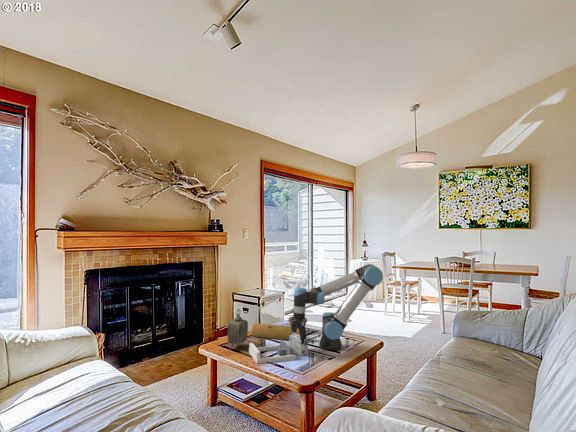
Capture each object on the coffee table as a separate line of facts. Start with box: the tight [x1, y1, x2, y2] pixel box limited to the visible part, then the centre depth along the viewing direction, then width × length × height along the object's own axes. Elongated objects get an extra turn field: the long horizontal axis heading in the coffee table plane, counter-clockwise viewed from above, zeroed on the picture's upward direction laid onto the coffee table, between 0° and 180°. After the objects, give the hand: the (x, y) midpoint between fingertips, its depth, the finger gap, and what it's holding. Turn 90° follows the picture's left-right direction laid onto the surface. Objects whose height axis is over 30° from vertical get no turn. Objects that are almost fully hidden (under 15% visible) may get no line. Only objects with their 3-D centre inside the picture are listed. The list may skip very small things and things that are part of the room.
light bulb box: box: [288, 334, 309, 357], centre depth 226 cm, size 11×7×11 cm, turn 47°
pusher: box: [276, 339, 293, 356], centre depth 222 cm, size 6×17×6 cm, turn 20°
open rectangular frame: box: [248, 342, 297, 364], centre depth 219 cm, size 24×20×6 cm
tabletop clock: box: [227, 309, 249, 351], centre depth 233 cm, size 14×9×25 cm, turn 168°
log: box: [251, 322, 307, 341], centre depth 255 cm, size 38×10×10 cm, turn 77°
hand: (297, 345), depth 226 cm, fingers open, 13 cm apart
